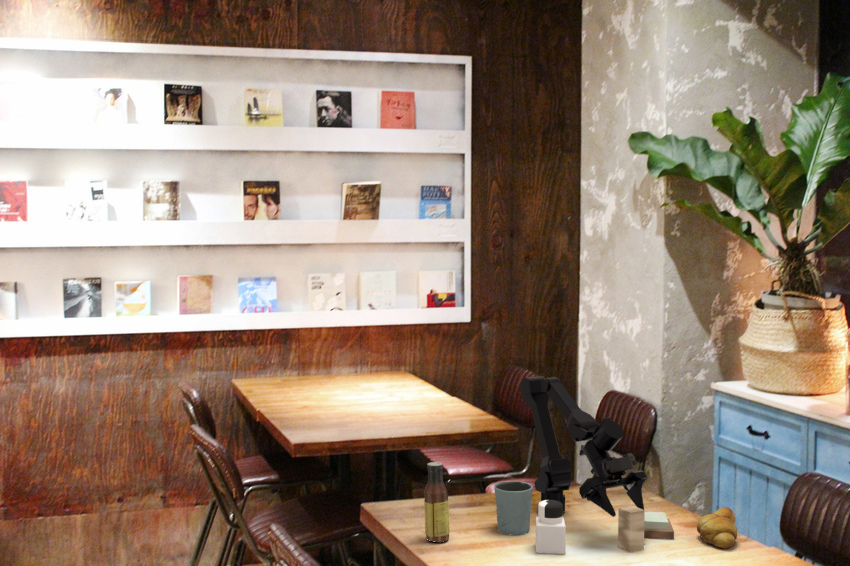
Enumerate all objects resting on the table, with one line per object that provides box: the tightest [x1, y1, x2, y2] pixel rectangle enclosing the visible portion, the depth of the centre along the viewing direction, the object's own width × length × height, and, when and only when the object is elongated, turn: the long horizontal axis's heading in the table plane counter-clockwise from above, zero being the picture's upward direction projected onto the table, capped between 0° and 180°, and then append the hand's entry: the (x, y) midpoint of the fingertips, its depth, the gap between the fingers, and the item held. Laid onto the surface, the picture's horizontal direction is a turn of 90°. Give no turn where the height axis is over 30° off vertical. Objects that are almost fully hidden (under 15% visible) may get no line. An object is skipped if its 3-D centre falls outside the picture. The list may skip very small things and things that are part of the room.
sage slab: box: [644, 511, 669, 530], centre depth 232 cm, size 8×8×2 cm
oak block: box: [617, 505, 646, 553], centre depth 219 cm, size 4×4×10 cm
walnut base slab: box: [644, 518, 675, 540], centre depth 232 cm, size 11×11×2 cm
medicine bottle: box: [535, 500, 567, 555], centre depth 218 cm, size 7×7×12 cm
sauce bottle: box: [423, 461, 450, 543], centre depth 225 cm, size 7×6×20 cm
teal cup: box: [493, 480, 534, 536], centre depth 233 cm, size 10×10×12 cm
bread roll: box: [696, 506, 738, 549], centre depth 224 cm, size 13×10×8 cm
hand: (628, 513), depth 220 cm, fingers open, 9 cm apart
